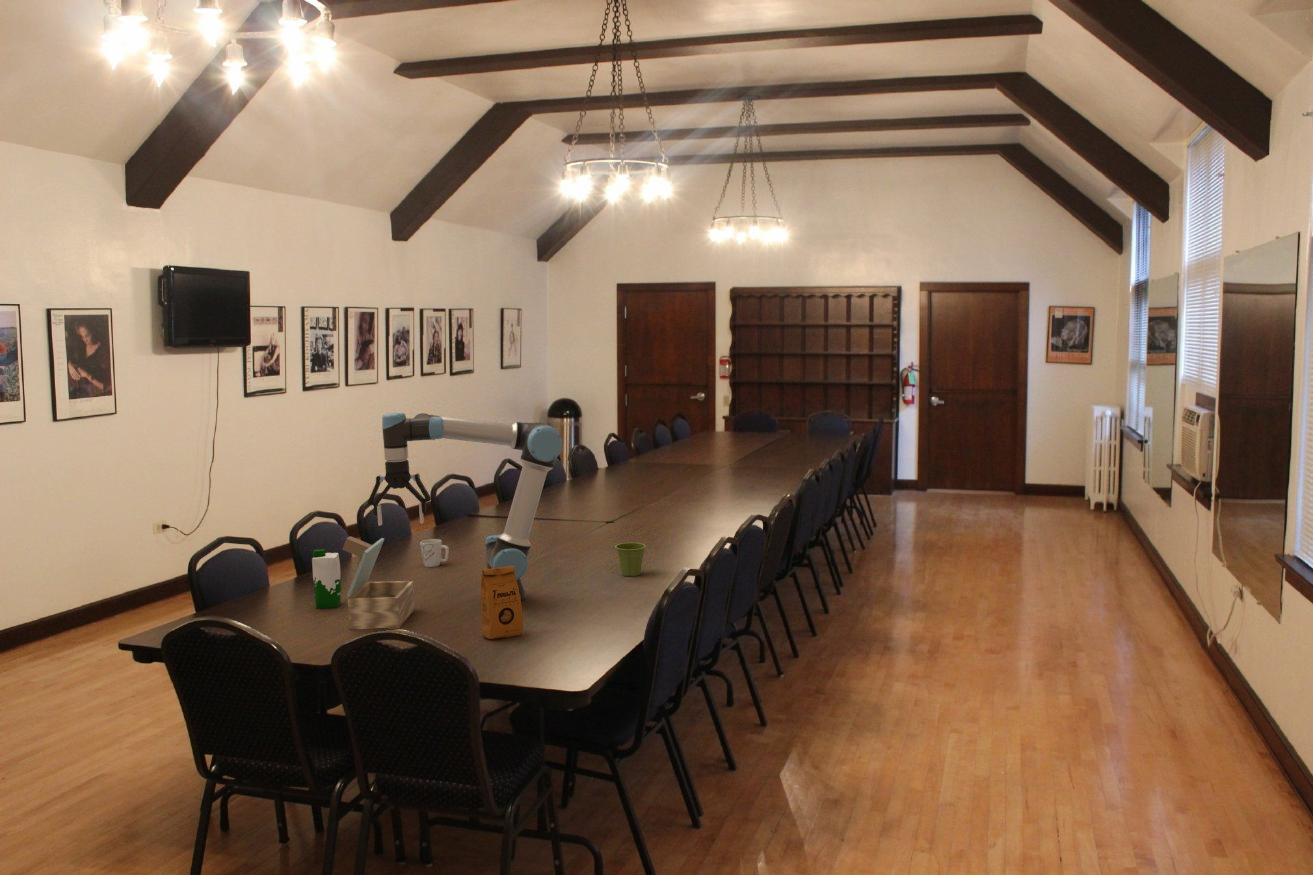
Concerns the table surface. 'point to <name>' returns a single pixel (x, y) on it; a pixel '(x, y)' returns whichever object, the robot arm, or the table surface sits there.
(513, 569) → the coffee package
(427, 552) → the mug
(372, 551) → the lid
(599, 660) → the table surface
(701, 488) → the table surface
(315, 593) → the milk carton
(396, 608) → the box
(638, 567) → the plant pot
